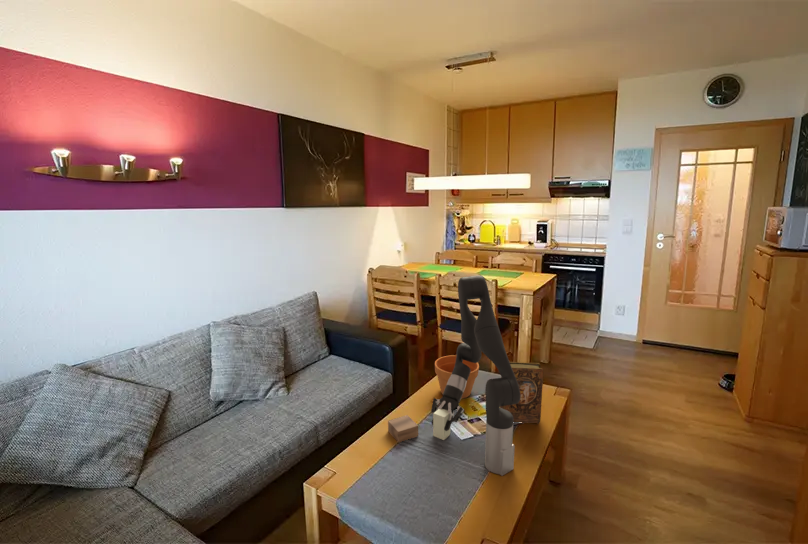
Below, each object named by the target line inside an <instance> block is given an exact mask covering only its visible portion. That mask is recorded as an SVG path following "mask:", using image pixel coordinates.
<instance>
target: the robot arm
mask: <svg viewBox="0 0 808 544" xmlns="http://www.w3.org/2000/svg"><path fill="white" fill-rule="evenodd" d="M457 295H458V305H459V311H460V312H459V313H460V321H461V324H460V325H461V326H460V327H461V329H460V330H461V331H460V339H461V341H462V342H461V343H460V344H459V345H458V346H457V348H456V354H455V355H456V362H455V366H454V369H453V372H452V374H451V376H450V378H449V380H448V382H447V385H446V387H445V390H444V392H443V394H442V396H441V398H440V399H437V398H436V397H434V398H432V405H431V411H430V412H431V413H432V414H433V413H434V412H435V411H437V410H438V409H445V410H447V411H448V412H449V417H448V420H447V422H446V425H445V427H444V430H445V431H448V430H449V429H450V430H451V427H452V424H453V423H458V421H459V420H460V418H461V417H462V416H463V414H464V413H465V409H464V408H463V407H462V406H460V402H461V400H462V399H461V397H462V395H463V392H464V390H465V387H466V383H467V380H468V377H469V375H470V372H471V369H470V368H469V367H468V366H467V365H465V364H463V360H466V361H469V362H472V363H479V362H480V361H481V359H482V353H483V355H484V356H486V357H487V358H488V359H489V360H490V361H491V362H492V363H493V364H494V366H495V367H496V369H497V370H498V373H499V374H500V377H497V378H489V379H488V380H487V381H486V383H485V387H484V388H485V390H484V393H485V414H486V418H485V422H486V424H485V443H484V444H485V445H484V449H485V450H484V467H485V468H486V469H487V470H488V472H491V473H493V474H497V475H500V476H501V477H503V476H505V475H506V474H508V473H510V472H511V471H513V470H514V465H515V464H514V463H515V450H516V449H515V447H516V446H515V444H514V443H513V437H514V423H513V421H514V418H513V415H512V414H511V413H510V412H509V411H507V410H505V409H502V408H500V406H506V405H514V404H517V403H519V401H520V398H521V395H520V389H519V385H518V382H517V380H516V377H515V375H514V372H513V370H512V367H511V365H510V362H511V361H510V360H509V357H508V355H507V351H506V347H505V345H504V340H503V337H502V334H501V331H500V327H499V324H498V321H497V318H496V316H495V311H494V309H493V305H492V304H493V303H492V301H491V296H490V291H489V287H488V283H487V281H486V278H485V277H484V276H483V275H472V276H464V277H460V278H459V279H458V281H457ZM469 300H470V301H471V300H479V301H480V310H479V313H478V316H477V318H476V316H475V315H474V314H473V312H472V311H471V309H470V308H469V304H468V301H469ZM501 377H502V378H501ZM455 411H456V412H455ZM431 425H432V426H433V419H431Z"/></svg>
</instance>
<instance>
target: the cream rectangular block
mask: <svg viewBox="0 0 808 544" xmlns="http://www.w3.org/2000/svg"><path fill="white" fill-rule="evenodd" d="M437 409H438V408H437ZM432 414H433V415H432V416H433V418H432V420H433V425H432V429H433V431H432V433H433V434H432V436H433V437H435V438H437V439H440V440H443V441H445V440H446V439H448V437H449V436H451V428H450V429H449V430H448V431H445V430H444V427H445V425H446V422H447V420H448V417H449V412H448V411H447V410H445V409H438V410H437V411H435V412H434V413H432Z"/></svg>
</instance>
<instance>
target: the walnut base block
mask: <svg viewBox="0 0 808 544" xmlns="http://www.w3.org/2000/svg"><path fill="white" fill-rule="evenodd" d="M387 431H388V433H389V434H390V435H391V436H392V437H393V438H394V440H395V441H396V442H397V443H399V442H400V443H403V442H406V441H408V439H409V440H411V438H412V439H414V438H417V436H418V437H419V424H417V422H415V421H414V420H413V419H412V417H411V416H409V415H408V414H407V415H402V416H399V417H397V418H393V419H389V420H387ZM405 440H406V441H405ZM402 441H403V442H402Z"/></svg>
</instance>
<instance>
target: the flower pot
mask: <svg viewBox="0 0 808 544" xmlns="http://www.w3.org/2000/svg"><path fill="white" fill-rule="evenodd" d="M455 362H456V354H455V355H454V354H451V355H446V356H441V357H439V358H437V359H436V360H435V361H434V372H435V374H436V376H437V381H438V384H439V389H440V392H441V394H442V395H443V392H444V390H445V387H446V385H447V382H448V380H449V378H450V376H451V374H452V372H453V369H454V366H455ZM463 364H465V365H467V366H468V367H469V368H470V369H471V372H470V375H469V377H468V380H467V383H466V387H465V390H464V392H463V395H462V397H461V400H462V398H463V399H466V398H469V396H471V394H472V391H473V387H474V385H475V382H476V378H478V376H479V371H480V370H479V369H480V364H479V362H477V363H472V362H469V361H466V360H463Z"/></svg>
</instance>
